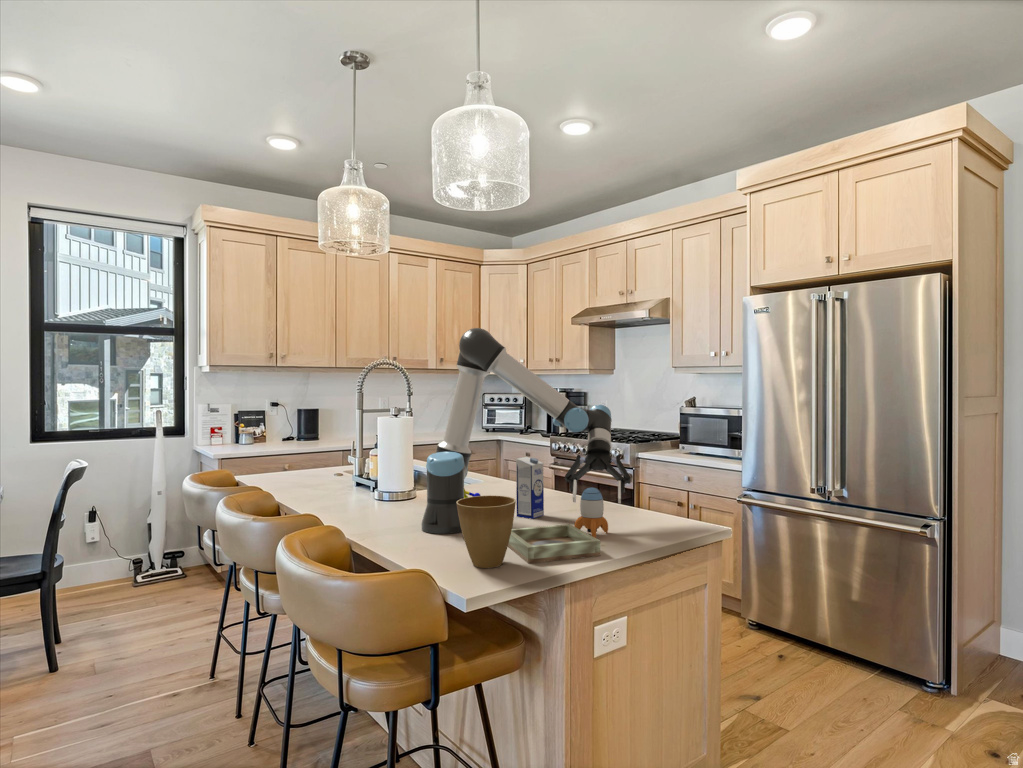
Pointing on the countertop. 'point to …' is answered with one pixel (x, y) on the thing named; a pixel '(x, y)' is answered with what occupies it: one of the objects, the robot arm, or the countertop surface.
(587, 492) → the toy rocket
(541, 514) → the milk carton
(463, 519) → the plant pot
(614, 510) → the countertop surface
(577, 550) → the cradle
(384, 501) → the countertop surface
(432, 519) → the robot arm
